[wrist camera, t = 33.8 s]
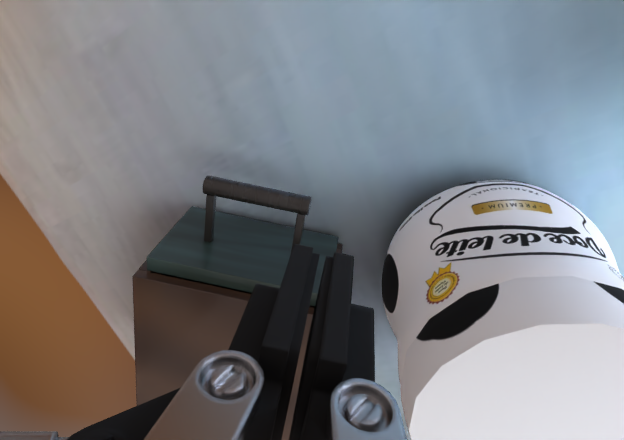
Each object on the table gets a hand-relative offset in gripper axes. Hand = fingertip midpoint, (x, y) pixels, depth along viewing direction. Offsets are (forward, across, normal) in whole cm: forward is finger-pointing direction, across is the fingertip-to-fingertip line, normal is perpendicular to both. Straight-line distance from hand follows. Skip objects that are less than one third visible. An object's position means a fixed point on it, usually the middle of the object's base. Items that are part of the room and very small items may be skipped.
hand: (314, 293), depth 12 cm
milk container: (+25, -14, +11) cm, 31 cm away
